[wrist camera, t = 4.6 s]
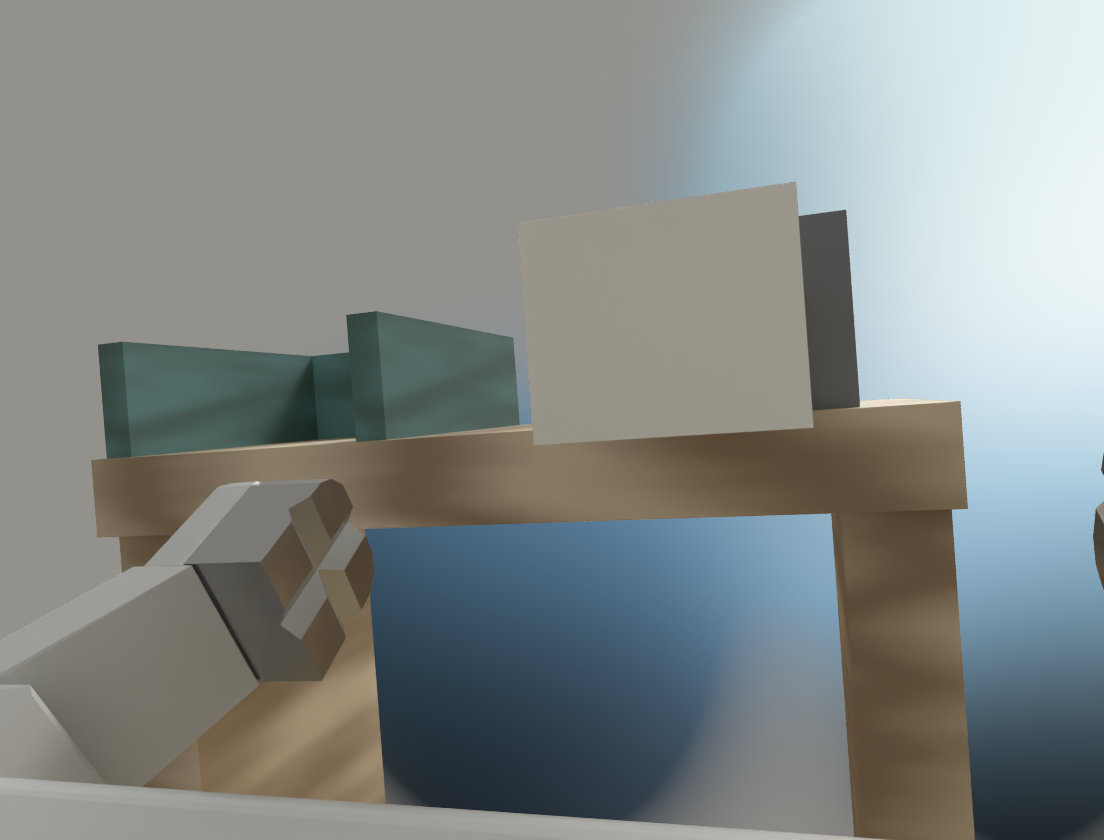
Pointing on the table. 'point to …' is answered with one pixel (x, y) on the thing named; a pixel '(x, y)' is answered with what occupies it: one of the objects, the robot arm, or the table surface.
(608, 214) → the beige and grey block
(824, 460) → the brown and teal frame
